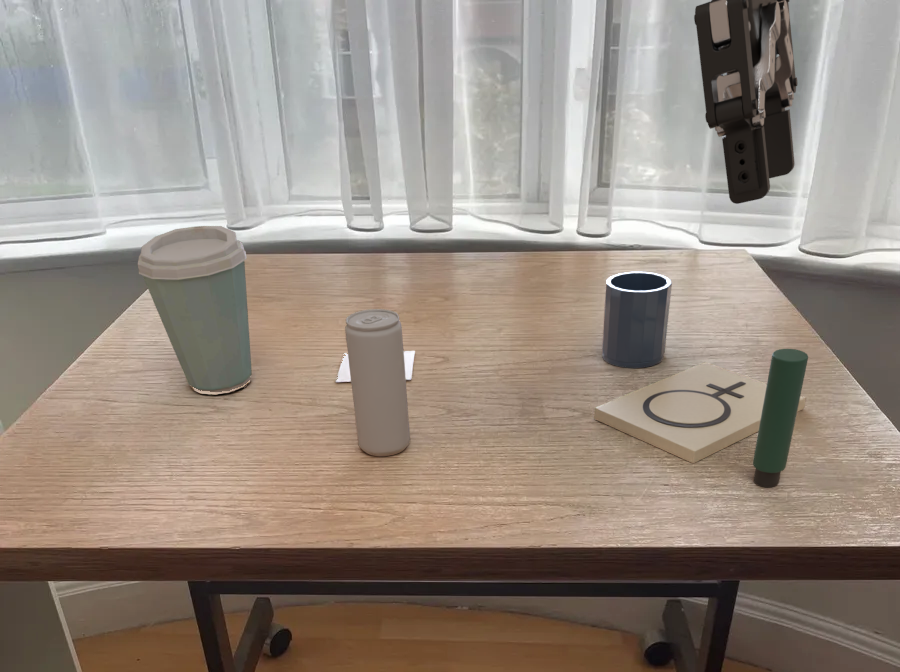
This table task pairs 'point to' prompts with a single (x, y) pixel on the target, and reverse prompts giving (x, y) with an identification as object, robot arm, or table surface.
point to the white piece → (345, 370)
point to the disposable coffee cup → (202, 302)
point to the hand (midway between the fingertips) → (764, 187)
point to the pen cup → (635, 319)
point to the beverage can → (378, 381)
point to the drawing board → (691, 411)
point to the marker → (778, 415)
